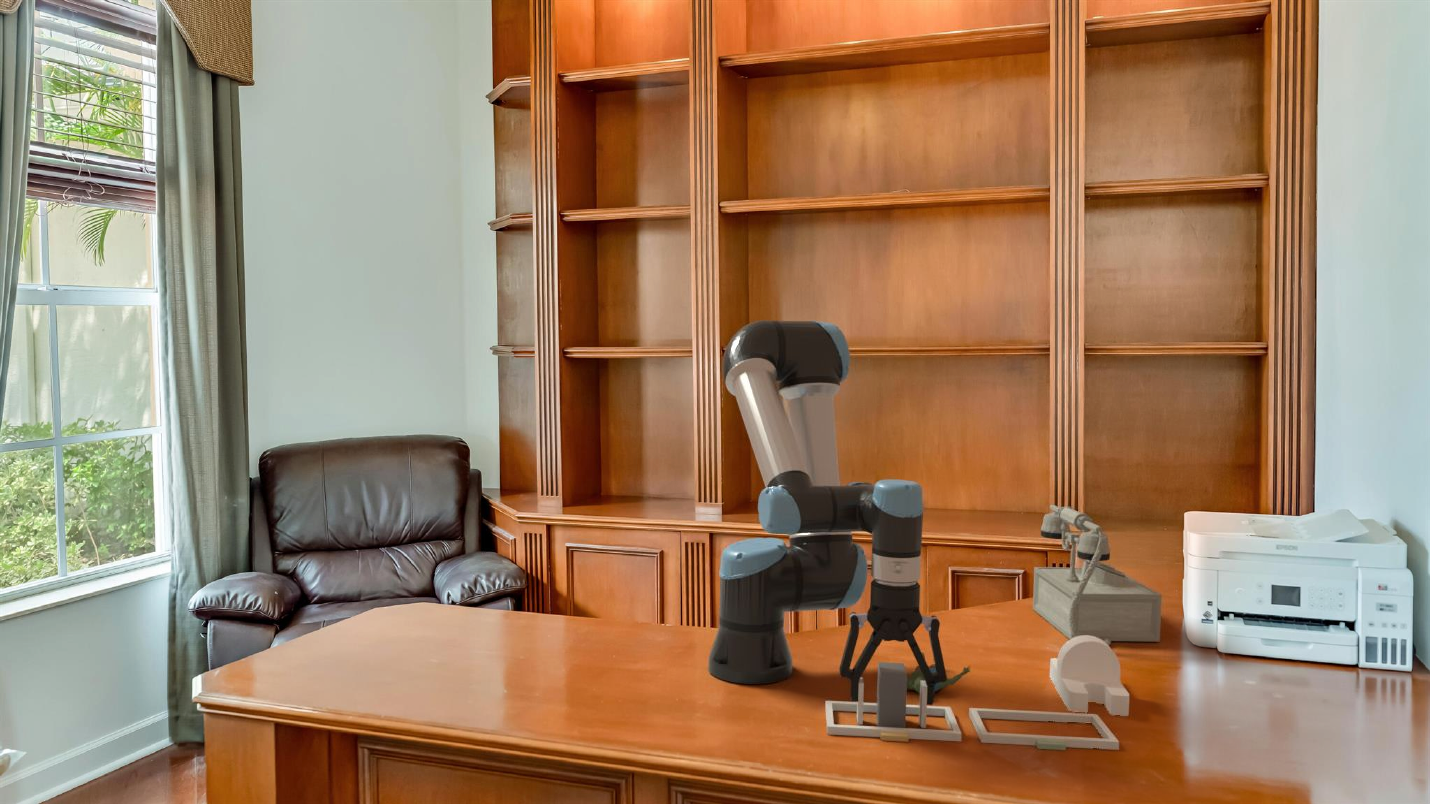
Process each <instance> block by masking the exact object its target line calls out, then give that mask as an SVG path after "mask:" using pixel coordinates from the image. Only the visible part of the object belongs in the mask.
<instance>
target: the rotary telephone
mask: <svg viewBox="0 0 1430 804" xmlns="http://www.w3.org/2000/svg"><path fill="white" fill-rule="evenodd" d="M1049 510H1050V511H1052V512H1051V513H1045V514H1044V516H1043V520H1042V525H1041V527H1040V536H1041V537H1043V538H1046V539H1052V540H1061V546H1062V547H1061V548H1062V549H1063V550H1064V551H1065V552H1067V551H1069V550H1070V561H1069V563H1070V567H1063V566H1062V567H1059V566H1058V567H1056V566H1053V567H1052V566H1051V567H1050V566H1046V567H1045V566H1040V567H1039V566H1034V567H1033V568H1034V570H1033V593H1032V594H1033V598H1032V610H1033V611H1035V613H1037V614H1038V615H1040V616H1041V617H1042V618H1043V619H1044V620H1045V621H1046V622H1048V623H1049V624H1051V626H1053V627H1054V628H1056V629H1057V630H1058V631H1059V632H1060V633H1061V634H1062V635H1064V636H1065V637H1066V638H1067V639H1069V640H1070V639H1072V638H1074V637H1077V636H1082V635H1089V636H1095V637H1097V638H1099V639H1101V640H1103V641H1104V642H1105V643H1106V644H1108V646H1109V647H1110V645H1111V644H1112V642H1160V641H1161V620H1162V619H1161V618H1162V617H1161V616H1162V598H1163V597H1162V593H1159V592H1157V591H1156V590H1154V589H1152V588H1150V587H1149V586H1147V585H1145V584H1143V583H1142V582H1140V581H1138V580H1136V579H1135V578H1133V577H1131V576H1128V575H1127V574H1125V573H1123V572H1122V571H1119V570H1118V569H1116V568H1115V567H1114V566H1112V565H1111V564H1109V563H1105V562H1104V561H1106V562H1107V561H1109V560H1110V559H1111V549H1110V546H1109V538H1108V534H1105V533H1103V532H1104V531H1103V529H1104V528H1103V527H1101V526H1100V525H1098V524H1095V523H1093V518H1091V517H1090V516H1089V515H1088V514H1087V513H1082V512H1080V511H1077V510H1075V509H1074V508H1072V506H1070V505H1069V506H1068V505H1066V506H1061V507H1059V506H1057V505H1055V504H1050V505H1049ZM1070 526H1072V527H1074V528H1075V529H1076V530H1078V531H1080V532H1081V531H1082V532H1081V534H1079V533H1075V532H1072V533H1071V527H1070ZM1089 530H1090V531H1089ZM1076 544H1077V545H1076ZM1070 546H1071V549H1070ZM1076 556H1077V557H1076ZM1076 558H1078V559H1079V560H1083V562H1082V567H1076ZM1102 561H1103V562H1102Z"/></svg>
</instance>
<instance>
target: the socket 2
mask: <svg viewBox="0 0 1430 804" xmlns="http://www.w3.org/2000/svg"><path fill="white" fill-rule="evenodd" d="M968 709H969V710H968V715H969V719H970V721H971V722H972V725H973V726H974V729H975V731H976V734H977V736H978V738H979V740H980V743H982V744H983V743H985V744H1000V745H1002V744H1003V745H1004V744H1005V745H1021V746H1022V745H1023V746H1024V745H1025V746H1036V748H1037V749H1038V750H1053V751H1054V750H1057V751H1066V749H1067V748H1079V749H1093V748H1097V749H1098V748H1099V750H1114V751H1116V750H1117V751H1119V750H1120V741H1119V740H1118V739H1117V737H1116V736H1115V735H1114V734H1113V732H1112V730H1110V729H1109V727H1108V726H1107V725H1106V724H1105V722H1104V721H1103V720H1102V718H1101V717H1100V716H1099V714H1098V713H1097V714H1096V713H1088V714H1087V713H1075V712H1058V711H1057V712H1056V711H1041V710H1040V711H1039V710H1038V711H1036V710H1017V709H999V708H997V709H996V708H981V707H980V708H977V707H976V708H975V707H969V708H968ZM982 719H991V720H993V719H994V720H1012V721H1031V722H1032V721H1033V722H1048V721H1053V722H1054V721H1055V722H1054V723H1067V722H1090V723H1093V724H1092V726H1093V725H1094V726H1095V727H1096V728H1095V727H1094V726H1093V727H1094V728H1095V730H1096V729H1097V730H1098V731H1097V730H1096V731H1097V732H1098V733H1099V735H1100V734H1101V735H1100V736H1101V737H1102V738H1100V737H1081V736H1079V737H1078V736H1063V735H1060V736H1059V735H1041V734H1039V735H1038V734H1027V733H1026V734H1023V733H1007V732H1006V733H1004V732H1003V733H1002V732H988V731H987V729H986V727H985V724H984V723H983V721H982ZM1053 722H1052V723H1053Z"/></svg>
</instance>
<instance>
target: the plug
mask: <svg viewBox="0 0 1430 804" xmlns="http://www.w3.org/2000/svg"><path fill="white" fill-rule="evenodd" d="M907 680H908V672H907V669H906V666H905V663H903V662H884V661H882V662H881V661H878V662H877V685H876V686H877V687H876V703H877V713H876V717H875V719H876V723H877V727H892V728H906V721H907V720H906V717H907V714H906V705H907V691H908V690H907Z"/></svg>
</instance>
